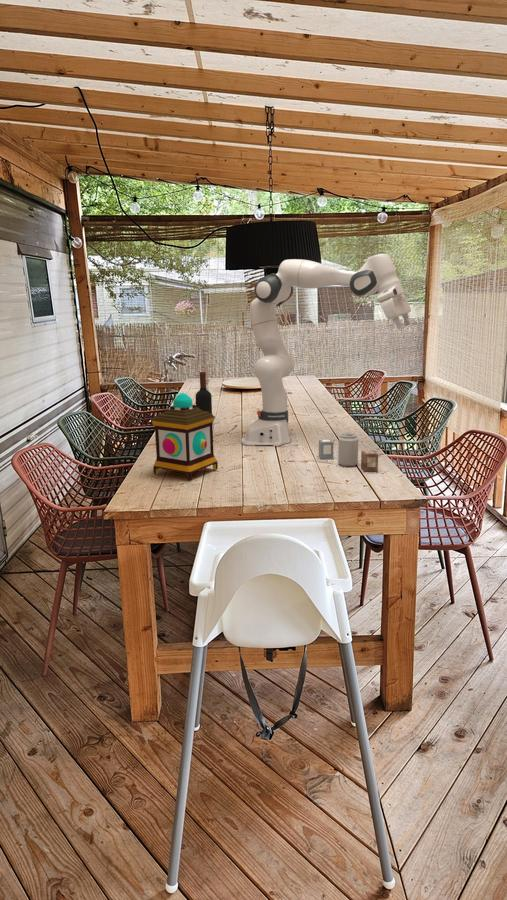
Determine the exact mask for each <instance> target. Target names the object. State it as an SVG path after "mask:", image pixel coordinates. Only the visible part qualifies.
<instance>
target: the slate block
mask: <svg viewBox="0 0 507 900" xmlns="http://www.w3.org/2000/svg"><path fill="white" fill-rule="evenodd" d="M318 457H320V458H319V459H320V460H334V441H333V439H331V438H329V439H328V438H327V439H318Z"/></svg>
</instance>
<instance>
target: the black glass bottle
mask: <svg viewBox="0 0 507 900" xmlns="http://www.w3.org/2000/svg"><path fill="white" fill-rule="evenodd" d="M203 372H206V389H207V390H208V391H209V392H210V390H209V382H210V378H209V366H207V365H204V366H203ZM220 423H221V421H220V419H218V418H216V417H215V419H214V421H213V425H217V424H220Z"/></svg>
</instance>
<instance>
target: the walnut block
mask: <svg viewBox="0 0 507 900" xmlns="http://www.w3.org/2000/svg"><path fill="white" fill-rule="evenodd" d="M360 452H361V458H360V459H361V461H360V470H361V469H362V470H363V471H362V470H361V471H362V472H363V473H365V472H376V473H379V453H378V452H377V451H375V450H361V451H360ZM365 474H366V473H365Z"/></svg>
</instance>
